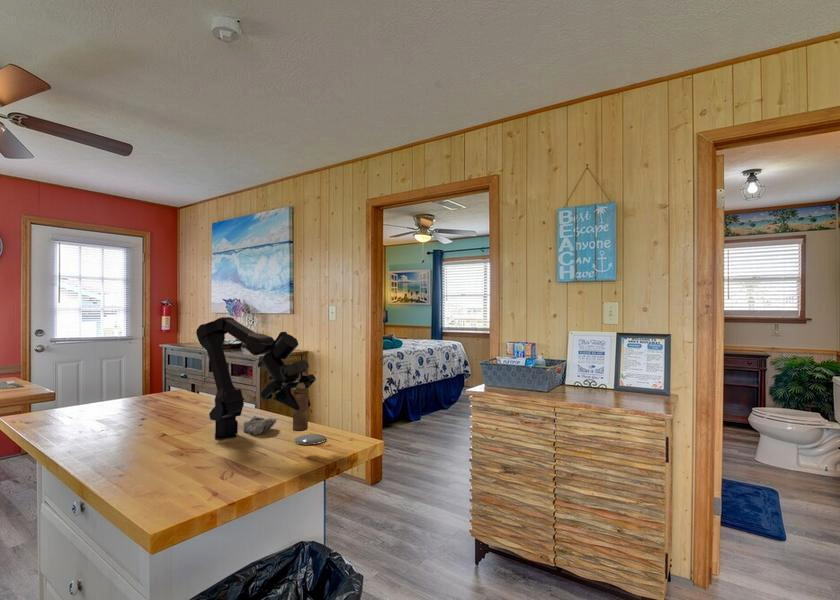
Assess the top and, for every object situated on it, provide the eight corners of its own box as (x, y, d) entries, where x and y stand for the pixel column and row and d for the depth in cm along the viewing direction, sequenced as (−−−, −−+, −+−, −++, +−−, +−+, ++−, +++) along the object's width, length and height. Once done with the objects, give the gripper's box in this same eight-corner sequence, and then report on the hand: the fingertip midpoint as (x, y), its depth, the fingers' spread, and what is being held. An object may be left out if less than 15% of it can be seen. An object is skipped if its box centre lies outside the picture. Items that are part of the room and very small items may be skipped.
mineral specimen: (256, 439, 149) (234, 430, 156) (281, 432, 158) (259, 425, 165) (257, 421, 149) (235, 414, 156) (283, 416, 158) (261, 409, 165)
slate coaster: (297, 446, 139) (297, 445, 139) (292, 438, 148) (292, 436, 148) (329, 442, 143) (329, 441, 143) (321, 434, 152) (321, 432, 152)
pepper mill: (294, 432, 132) (294, 384, 132) (291, 428, 136) (292, 381, 136) (309, 430, 134) (309, 383, 134) (305, 426, 138) (306, 380, 138)
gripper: (268, 354, 128) (296, 396, 123) (311, 349, 145) (338, 386, 140) (248, 379, 132) (275, 421, 127) (293, 371, 149) (318, 408, 143)
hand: (304, 408), depth 134 cm, fingers closed on pepper mill, 4 cm apart
